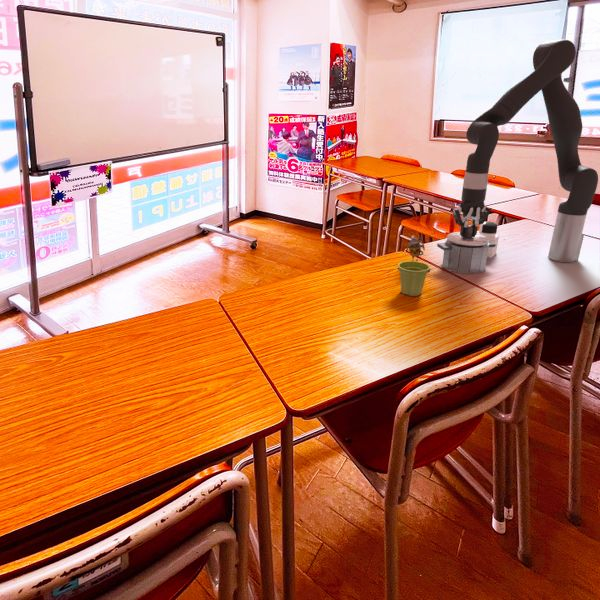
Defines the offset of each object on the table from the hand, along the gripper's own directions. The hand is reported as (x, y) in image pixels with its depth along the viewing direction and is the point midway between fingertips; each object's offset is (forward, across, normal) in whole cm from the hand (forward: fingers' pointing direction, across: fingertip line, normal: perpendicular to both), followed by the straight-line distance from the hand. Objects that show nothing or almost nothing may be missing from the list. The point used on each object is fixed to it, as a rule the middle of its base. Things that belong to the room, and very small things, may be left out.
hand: (467, 236), depth 173 cm
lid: (+1, 0, 0) cm, 1 cm away
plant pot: (+11, +28, +18) cm, 35 cm away
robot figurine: (+11, +18, -1) cm, 21 cm away
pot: (+11, 0, 0) cm, 11 cm away
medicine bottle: (+11, -15, -11) cm, 22 cm away
